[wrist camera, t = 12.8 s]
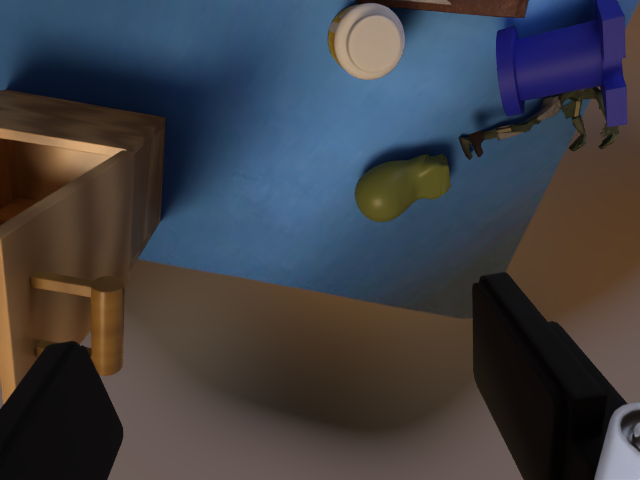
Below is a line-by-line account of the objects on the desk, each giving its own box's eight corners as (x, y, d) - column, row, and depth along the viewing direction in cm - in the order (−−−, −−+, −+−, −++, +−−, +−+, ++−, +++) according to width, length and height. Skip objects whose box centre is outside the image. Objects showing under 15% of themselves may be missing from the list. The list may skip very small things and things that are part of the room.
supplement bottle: (367, 80, 46) (387, 98, 37) (316, 51, 44) (323, 61, 35) (398, 24, 44) (427, 27, 35) (345, -8, 42) (361, -14, 33)
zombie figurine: (499, 199, 45) (653, 126, 43) (469, 133, 44) (624, 57, 43) (483, 198, 50) (620, 133, 49) (456, 139, 50) (593, 71, 48)
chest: (14, 200, 49) (-62, 253, 38) (5, 89, 44) (-85, 113, 34) (160, 222, 51) (126, 277, 40) (166, 117, 46) (129, 149, 36)
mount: (613, 72, 46) (516, 91, 50) (610, -12, 43) (506, 16, 47) (627, 124, 35) (500, 143, 39) (624, 15, 31) (486, 49, 36)
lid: (4, 419, 26) (104, 435, 26) (-18, 235, 21) (104, 257, 22) (119, 279, 40) (184, 291, 40) (122, 149, 35) (195, 163, 35)
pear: (354, 208, 52) (439, 172, 52) (372, 240, 48) (463, 201, 48) (342, 169, 48) (434, 131, 48) (361, 201, 44) (460, 159, 44)
